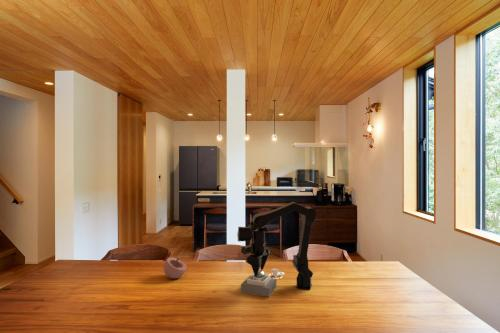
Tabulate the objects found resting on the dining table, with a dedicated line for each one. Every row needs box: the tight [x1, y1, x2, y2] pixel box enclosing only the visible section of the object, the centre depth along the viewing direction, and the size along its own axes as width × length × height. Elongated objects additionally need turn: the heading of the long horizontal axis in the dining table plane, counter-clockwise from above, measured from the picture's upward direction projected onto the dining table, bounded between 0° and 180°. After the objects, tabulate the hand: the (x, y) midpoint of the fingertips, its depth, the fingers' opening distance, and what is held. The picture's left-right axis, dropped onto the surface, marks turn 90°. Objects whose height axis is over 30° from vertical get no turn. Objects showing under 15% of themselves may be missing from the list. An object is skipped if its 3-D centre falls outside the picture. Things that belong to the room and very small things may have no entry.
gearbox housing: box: [240, 272, 277, 298], centre depth 149 cm, size 14×12×6 cm
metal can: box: [254, 269, 266, 281], centre depth 150 cm, size 5×5×8 cm
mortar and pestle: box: [163, 256, 187, 279], centre depth 165 cm, size 12×12×12 cm
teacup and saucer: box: [268, 268, 285, 280], centre depth 167 cm, size 9×8×4 cm
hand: (258, 272), depth 149 cm, fingers open, 9 cm apart
